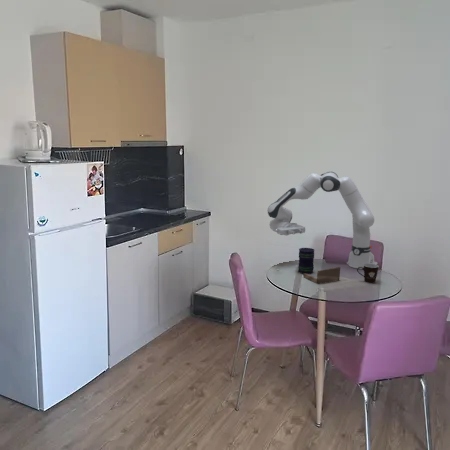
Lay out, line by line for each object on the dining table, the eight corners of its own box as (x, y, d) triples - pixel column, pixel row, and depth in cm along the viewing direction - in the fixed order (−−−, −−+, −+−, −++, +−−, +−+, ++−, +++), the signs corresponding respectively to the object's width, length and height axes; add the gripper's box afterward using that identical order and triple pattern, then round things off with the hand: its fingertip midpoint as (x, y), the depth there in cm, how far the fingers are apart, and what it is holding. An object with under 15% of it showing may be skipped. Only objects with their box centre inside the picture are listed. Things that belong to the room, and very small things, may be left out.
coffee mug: (378, 280, 273) (380, 264, 271) (375, 284, 266) (376, 268, 264) (359, 277, 279) (361, 261, 277) (355, 281, 272) (356, 265, 270)
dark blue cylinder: (306, 275, 282) (307, 252, 279) (294, 271, 290) (295, 249, 287) (316, 272, 289) (317, 249, 286) (304, 268, 296) (305, 246, 293)
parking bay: (303, 277, 278) (304, 264, 277) (324, 273, 286) (324, 261, 284) (318, 284, 266) (318, 271, 264) (339, 280, 273) (340, 267, 272)
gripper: (273, 225, 300) (285, 229, 288) (298, 223, 309) (310, 226, 297) (272, 234, 301) (284, 238, 289) (297, 231, 310) (310, 235, 298)
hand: (298, 232), depth 293 cm, fingers open, 4 cm apart
